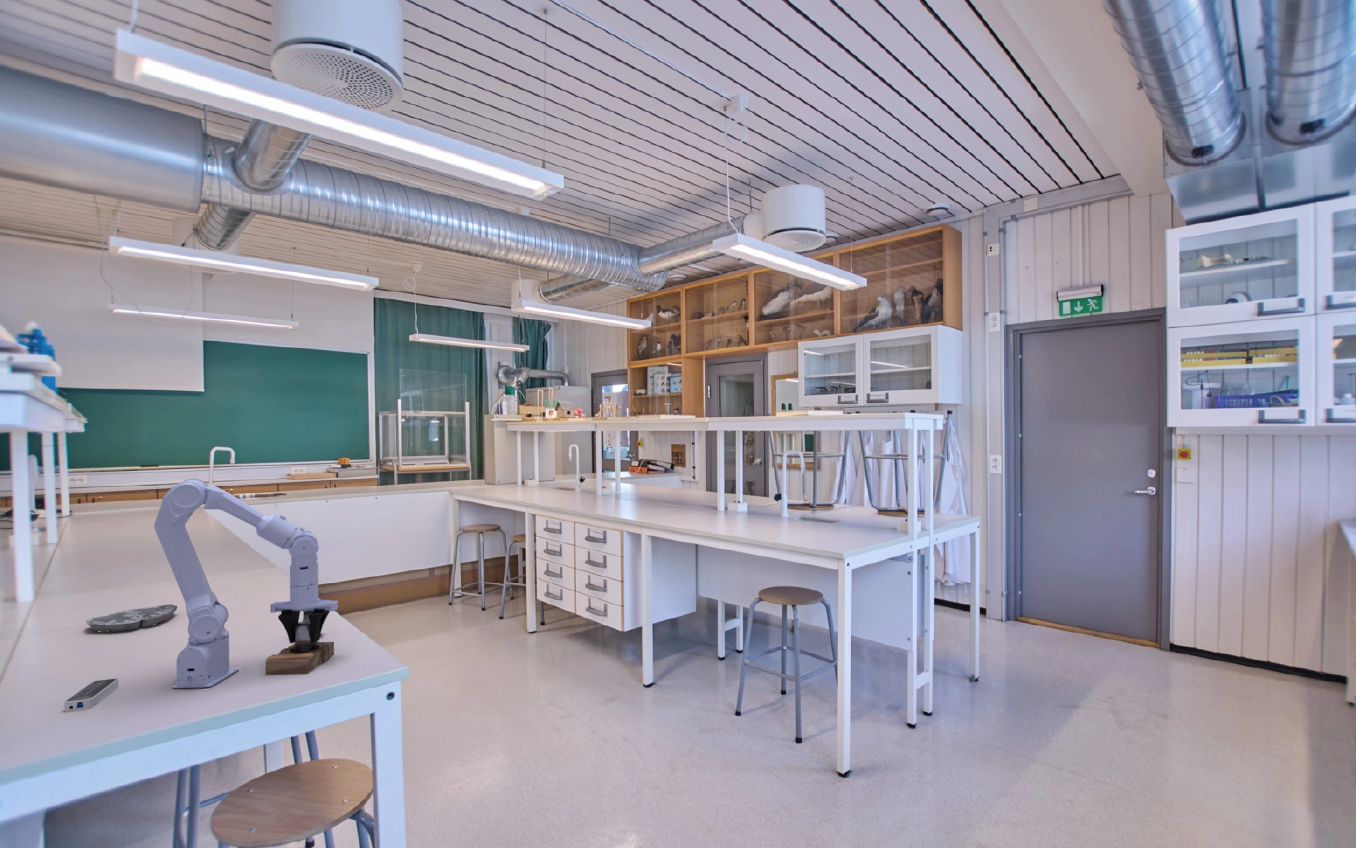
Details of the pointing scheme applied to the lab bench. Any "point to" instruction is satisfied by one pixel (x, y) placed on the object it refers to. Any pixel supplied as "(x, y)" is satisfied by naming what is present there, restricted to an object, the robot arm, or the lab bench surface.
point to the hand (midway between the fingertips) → (304, 641)
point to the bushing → (303, 637)
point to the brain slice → (132, 618)
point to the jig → (298, 659)
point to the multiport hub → (91, 695)
